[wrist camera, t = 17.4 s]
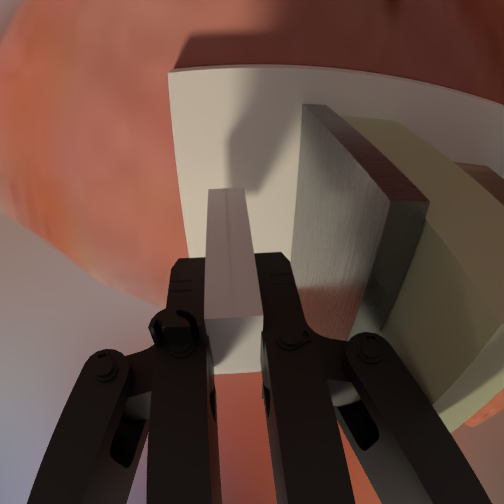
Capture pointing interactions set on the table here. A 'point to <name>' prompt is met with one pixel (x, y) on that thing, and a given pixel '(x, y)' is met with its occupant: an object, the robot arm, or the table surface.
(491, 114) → the white book rack
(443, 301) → the book
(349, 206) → the bookend
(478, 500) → the robot arm
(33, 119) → the table surface
